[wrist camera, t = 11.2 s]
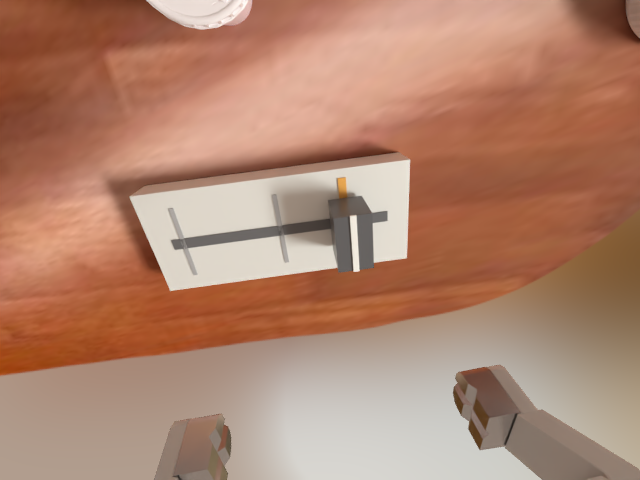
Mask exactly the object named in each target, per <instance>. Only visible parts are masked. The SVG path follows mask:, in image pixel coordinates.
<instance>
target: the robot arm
mask: <svg viewBox="0 0 640 480" xmlns="http://www.w3.org/2000/svg"><path fill="white" fill-rule="evenodd" d="M455 379H456V381H457V382H458V383H457V384H456V385H455V386H454V390H453V396H454V401H455V404H456V406H457V408H458V410H459V412H460V414H461V416H462V417H464V418H465V419H467V420H468V421H469V431H470V433H471V435H472V436H473V439H474V440H475V442H476V444H477V446H478V448H479V449H480V450H484V449H490V448H497V447H503V446H506V447H505V448H506V449H507V450H508V451H509V452H511V453H512V454H513V455H514V456H515V457H516V458H518V459H519V460H520V461H521V462H522V463H523V464H525V465H526V466H527V467H528V468H529V469H530V470H532V471H533V472H534V473H535V474H536V475H537V476H538V477H540V478H541V479H542V480H640V470H639V469H638V468H637V467H635V466H633V465H632V464H630V463H628V462H627V461H625V460H624V459H622V458H620V457H619V456H617V455H615V454H614V453H612V452H611V451H609V450H607V449H605V448H604V447H602V446H601V445H599V444H598V443H596V442H594V441H593V440H591V439H589V438H588V437H586V436H584V435H583V434H581V433H580V432H578V431H576V430H575V429H573V428H572V427H570V426H568V425H567V424H565V423H563V422H562V421H560V420H558V419H557V418H555V417H554V416H552V415H550V414H549V413H547V412H545V411H544V410H537V408H536V407H535V406H534V405H533V403H532V402H531V401H530V399H529V398H528V397H527V396H526V394H525V393H524V392H523V391H522V389H521V388H520V387H519V385H518V384H517V383H516V382H515V380H514V379H513V378H512V376H511V375H510V374H509V373H508V371H507V370H506V369H505V368H504V367H503V366H501V365H495V366H489V367H482V368H477V369H472V370H467V371H462V372H458V373H457V374H456V378H455ZM224 420H225V419H224V417H223V415H222V414H216V415H211V416H205V417H199V418H193V419H186V420H180V421H175V422H174V423H173V425H172V427H171V428H170V431H169V434H168V438H167V441H166V444H165V447H164V450H163V453H162V456H161V459H160V463H159V466H158V469H157V472H156V475H155V478H154V480H227V476H228V473H227V471H226V469H225V467H224V466H225V464H226V463H227V461H228V460H229V458H230V452H231V434H230V430H229V428H228V426H226V425H224Z"/></svg>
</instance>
